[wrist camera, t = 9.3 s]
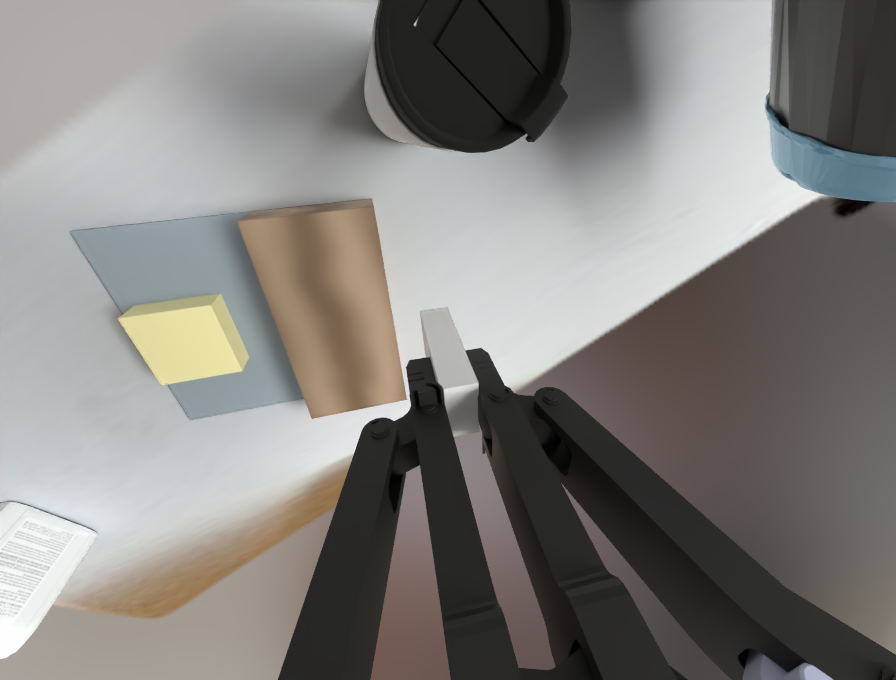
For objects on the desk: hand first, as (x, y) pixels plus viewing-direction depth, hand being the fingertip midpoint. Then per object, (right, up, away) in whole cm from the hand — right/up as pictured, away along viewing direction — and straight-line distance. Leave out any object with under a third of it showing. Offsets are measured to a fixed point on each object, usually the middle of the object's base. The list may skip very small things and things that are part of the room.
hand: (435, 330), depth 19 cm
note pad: (-23, -1, +11) cm, 25 cm away
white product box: (-46, -22, +21) cm, 55 cm away
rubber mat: (-21, +1, +14) cm, 25 cm away
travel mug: (-3, +19, +8) cm, 20 cm away
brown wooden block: (-10, +3, +15) cm, 19 cm away
